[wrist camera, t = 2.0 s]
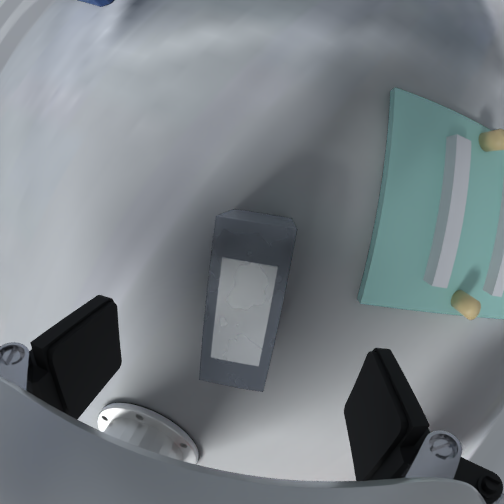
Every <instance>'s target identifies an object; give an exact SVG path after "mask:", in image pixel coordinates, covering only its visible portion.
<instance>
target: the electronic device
mask: <svg viewBox="0 0 504 504" xmlns="http://www.w3.org/2000/svg"><path fill="white" fill-rule="evenodd" d="M79 1H83V2H86V3H90V4H93V5H97V6H100V7H102V6H105V5H108V4H111V3H112V2H113V0H79Z"/></svg>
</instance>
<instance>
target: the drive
mask: <svg viewBox="0 0 504 504" xmlns="http://www.w3.org/2000/svg"><path fill="white" fill-rule="evenodd" d="M296 232H297V228H296V226H295V224H294V222H293V220H292V218H288V217H282V216H276V215H270V214H264V213H257V212H251V211H245V210H238V209H233V210H230V211H228V212H225V213H223V214H220V215H218V216H216V220H215V228H214V236H213V244H212V252H211V260H210V269H209V278H208V287H207V296H206V306H205V316H204V327H203V338H202V350H201V362H200V375H199V380H203V381H208V382H212V383H217V384H222V385H227V386H232V387H237V388H243V389H249V390H255V391H261V392H263V390H264V386H265V382H266V378H267V373H268V369H269V365H270V360H271V356H272V352H273V347H274V343H275V338H276V333H277V329H278V324H279V319H280V315H281V310H282V305H283V300H284V295H285V290H286V285H287V280H288V275H289V270H290V265H291V259H292V254H293V249H294V243H295V237H296Z"/></svg>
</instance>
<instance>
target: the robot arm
mask: <svg viewBox="0 0 504 504" xmlns="http://www.w3.org/2000/svg"><path fill="white" fill-rule="evenodd" d="M30 343H31V346H32V350H30V351H29V350H28V348H27V347H26V346H25V345H23V344H20V343H15V342H12V343H7V344H4V345H2V346H0V504H504V493H502V491H503V484H502V481H501V479H500V477H499V476H498V475H497V474H495V473H493V472H492V471H489V470H487V469H485V468H483V467H481V466H478V465H476V464H474V463H472V462H470V461H468V460H466V459H464V458H462V457H461V454H462V446H461V443H460V441H459V440H458V439H457V438H456V437H455V436H454V435H453V434H451V433H449V432H447V431H443V430H437V431H432V432H431V433H430V431H429V429H428V427H429V423H428V421H427V419H426V417H425V415H424V413H423V411H422V409H421V407H420V405H419V403H418V401H417V399H416V397H415V395H414V393H413V391H412V389H411V387H410V385H409V383H408V381H407V379H406V377H405V375H404V374H403V372H402V370H401V368H400V366H399V364H398V363H397V361H396V359H395V357H394V355H393V353H392V352H391V350H390V349H382V348H375V349H374V350H373V351H372V352H371V351H370V352H369V353H368V354H367V356H366V359H365V361H364V364H363V366H362V369H361V371H360V373H359V376H358V378H357V380H356V383H355V385H354V387H353V389H352V391H351V394H350V396H349V398H348V400H347V402H346V404H345V408H344V415H345V420H346V425H347V430H348V436H349V441H350V446H351V452H352V458H353V463H354V469H355V476H356V481H298V480H285V479H274V478H266V477H258V476H251V475H244V474H238V473H233V472H227V471H222V470H217V469H213V468H208V467H204V466H200V465H196V464H197V461H198V456H199V453H198V449H197V447H196V445H195V443H194V442H193V440H192V439H191V438H190V437H189V436H188V434H187V433H185V432H184V431H183V430H182V429H181V428H180V427H179V426H177V425H176V424H174V423H173V422H172V421H170V420H169V419H167V418H165V417H163V416H162V415H160V414H158V413H156V412H154V411H151V410H149V409H146V408H144V407H141V406H137V405H133V404H128V403H112V404H109V405H107V406H106V407H104V408H103V409H102V411H101V412H100V413H99V416H98V419H97V421H98V427H99V430H100V431H99V430H97V429H95V428H93V427H91V426H89V425H87V424H85V423H83V422H81V421H79V420H77V419H78V418H79V417H80V416H81V414H82V413H83V412H84V411H85V409H86V408H87V407H88V406H89V405H90V403H91V402H92V401H93V400H94V398H95V397H96V396H97V395H98V394H99V392H100V391H101V390H102V389H103V387H104V386H105V385H106V384H107V383H108V381H109V380H110V379H111V378H112V377H113V375H114V374H115V373H116V372H117V371H118V369H119V368H120V366H121V362H122V359H121V350H120V340H119V328H118V313H117V305H116V304H115V303H114V301H113V299H112V298H108V297H105V296H102V295H98V296H96V297H95V298H93V299H92V300H90V301H89V302H87V303H86V304H84V305H83V306H81V307H80V308H78V309H77V310H75V311H74V312H73V313H71V314H70V315H68V316H67V317H65V318H64V319H62V320H61V321H60V322H58V323H57V324H55V325H54V326H53V327H51V328H50V329H48V330H47V331H46V332H44V333H43V334H41V335H40V336H39V337H37V338H36V339H34V340H33V341H32V342H30Z"/></svg>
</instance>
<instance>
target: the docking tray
mask: <svg viewBox="0 0 504 504" xmlns="http://www.w3.org/2000/svg"><path fill="white" fill-rule="evenodd" d="M357 299H358V301H359V302H360V304H366V305H374V306H382V307H389V308H397V309H406V310H414V311H423V312H432V313H441V314H451V315H461V316H465V317H466V318H467V319H469V320H473V319H475V318H476V317H482V318H494V319H504V130H503V129H497V130H493V131H491V130H490V129H488V128H486V127H484V126H482V125H481V124H479V123H477V122H475V121H473V120H471V119H469V118H467V117H465V116H463V115H461V114H459V113H457V112H455V111H453V110H451V109H449V108H446V107H444V106H442V105H440V104H437V103H435V102H433V101H430V100H428V99H425V98H423V97H420V96H418V95H415V94H413V93H410V92H407V91H404V90H401V89H399V88H396V87H395V88H394V89H392V90H391V91H390V107H389V122H388V133H387V144H386V153H385V161H384V169H383V176H382V183H381V190H380V196H379V202H378V208H377V213H376V219H375V224H374V229H373V234H372V239H371V244H370V248H369V253H368V257H367V261H366V266H365V270H364V274H363V278H362V282H361V286H360V289H359V293H358V297H357Z"/></svg>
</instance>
